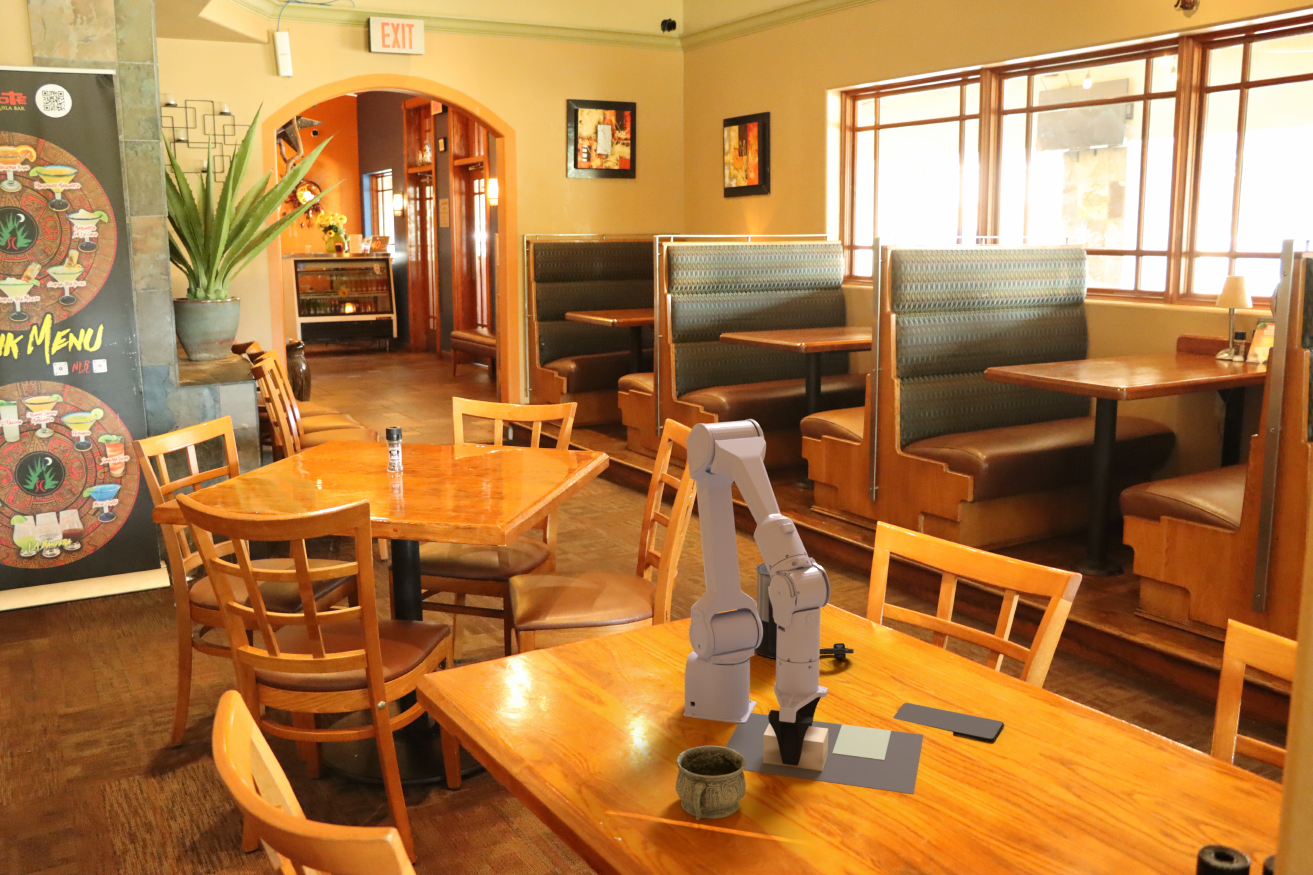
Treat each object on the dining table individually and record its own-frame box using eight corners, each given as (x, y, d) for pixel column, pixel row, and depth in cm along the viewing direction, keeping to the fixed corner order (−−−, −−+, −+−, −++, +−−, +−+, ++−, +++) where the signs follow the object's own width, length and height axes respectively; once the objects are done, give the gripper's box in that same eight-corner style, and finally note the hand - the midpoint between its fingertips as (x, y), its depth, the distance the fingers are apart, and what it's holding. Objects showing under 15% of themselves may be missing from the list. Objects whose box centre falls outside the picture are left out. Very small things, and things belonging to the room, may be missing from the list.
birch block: (763, 762, 147) (763, 734, 147) (769, 748, 152) (770, 720, 151) (822, 770, 145) (823, 742, 144) (827, 755, 149) (828, 728, 148)
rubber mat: (714, 768, 147) (714, 764, 146) (744, 714, 163) (744, 711, 163) (913, 796, 139) (913, 792, 139) (923, 737, 156) (923, 733, 156)
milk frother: (749, 642, 194) (750, 561, 191) (836, 638, 196) (838, 558, 193) (766, 672, 180) (767, 585, 177) (859, 668, 182) (862, 582, 179)
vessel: (731, 837, 130) (732, 787, 128) (661, 824, 132) (661, 775, 131) (756, 790, 141) (757, 744, 140) (691, 779, 144) (691, 734, 143)
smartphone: (904, 701, 167) (1004, 721, 160) (904, 707, 167) (1004, 727, 160) (889, 718, 161) (993, 739, 154) (889, 723, 161) (993, 745, 154)
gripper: (819, 678, 138) (816, 779, 140) (835, 640, 151) (833, 732, 154) (764, 672, 140) (762, 771, 142) (785, 634, 153) (783, 725, 156)
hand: (795, 750), depth 148 cm, fingers open, 7 cm apart
